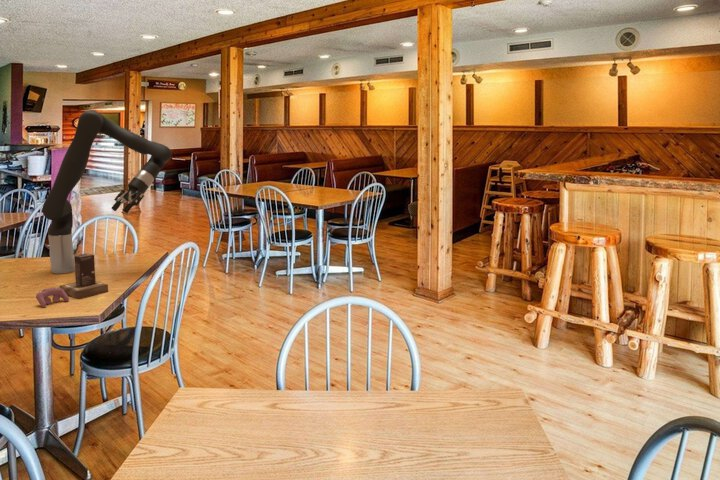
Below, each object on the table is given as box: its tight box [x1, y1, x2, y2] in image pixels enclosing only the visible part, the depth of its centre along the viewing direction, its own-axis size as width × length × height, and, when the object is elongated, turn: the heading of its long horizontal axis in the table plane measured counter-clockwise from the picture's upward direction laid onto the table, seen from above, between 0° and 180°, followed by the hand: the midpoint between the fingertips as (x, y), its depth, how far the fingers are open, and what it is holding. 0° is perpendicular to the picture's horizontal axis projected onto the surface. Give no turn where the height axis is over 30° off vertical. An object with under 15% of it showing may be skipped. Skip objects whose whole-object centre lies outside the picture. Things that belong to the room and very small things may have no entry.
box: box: [74, 253, 96, 287], centre depth 210 cm, size 6×4×12 cm
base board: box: [59, 280, 109, 300], centre depth 211 cm, size 13×12×3 cm
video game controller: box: [35, 286, 70, 308], centre depth 197 cm, size 10×5×7 cm, turn 147°
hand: (119, 210), depth 230 cm, fingers open, 8 cm apart
